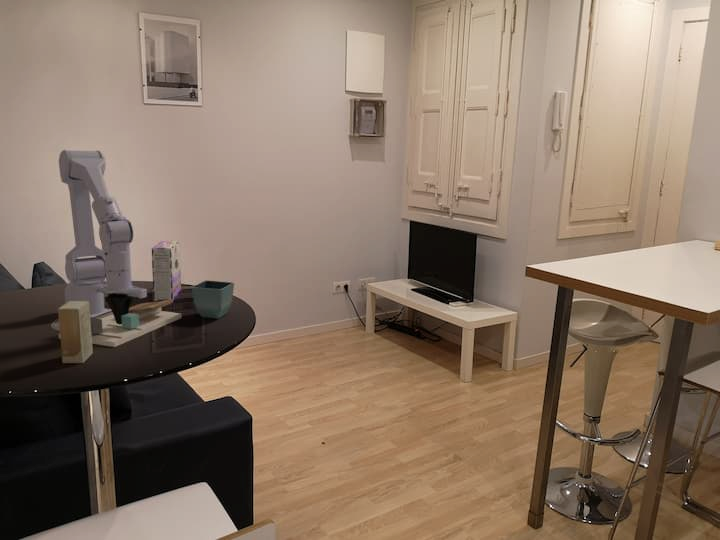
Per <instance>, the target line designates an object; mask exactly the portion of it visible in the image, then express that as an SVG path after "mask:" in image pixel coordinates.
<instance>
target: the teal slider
mask: <svg viewBox="0 0 720 540" xmlns="http://www.w3.org/2000/svg"><path fill="white" fill-rule="evenodd" d="M121 317H122V328H128V329H133V328H135V327H138V326H139V314H132V313H128V314H125V315H123V316H121Z"/></svg>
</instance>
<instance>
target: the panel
mask: <svg viewBox="0 0 720 540" xmlns="http://www.w3.org/2000/svg"><path fill="white" fill-rule="evenodd" d="M162 308H163V307H160V308H158V309H155V310H153V311H146V312H138V313H132V314H139V326H138V327H135V328H133V329H128V328H122V324H117V323H116V320H115V317H114V315H113V314H110V315H107V316H104V317H102V318H100V319H102V330H103V331H102V332H100V333H97V334H95V335H92V334H91V336H92V345H99V346H106V347H112V348H115V347H118V346H120V345H123V344H126V342H127V343H128V342H130V341H132V340H134V339H136V338H139V337H141V336H143V335H145V334H148V333H150V332H152V331H154V330H157V329H160V328H161V327H164V326H166V325H168V324H171V323H173V322H175V321H178V320H180V319H182V313H181V312H180V313H178V312H173V311H172V312H170V311H163V310H162ZM58 339H59V340H61V338H60V333H58Z"/></svg>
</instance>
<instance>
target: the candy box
mask: <svg viewBox="0 0 720 540" xmlns="http://www.w3.org/2000/svg"><path fill="white" fill-rule="evenodd" d="M180 253H181V251H180V241H179V240H160V241H159V242H158V243H157V244H156V245H154V246H153V247H152V248H151V265H152V266H151V267H152V269H151V270H152V291H153V302H158V301H165V300H173V301H174V300H175V298H176V297H177V296H178V295H179V293H180V292H181V291H182V277H181V276H182V275H181V274H182V273H181V254H180Z"/></svg>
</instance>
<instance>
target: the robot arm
mask: <svg viewBox="0 0 720 540" xmlns="http://www.w3.org/2000/svg"><path fill="white" fill-rule="evenodd" d="M58 167H59V176H60V180H61V182H62V183H64V184H65V185H67V186H68V191H69V200H70V201H69V202H70V209H71V216H72V224H73V227H72V228H73V232H74V244H75V246H74V247H73V248H72V249H70V251H68V252H67V253H66V254H65V264H64V265H65V266H64V271H65V277H66V278H67V280H68V281H69V282H68V283H67V284H66V286H65V288H64V300H65V301H64V304H66V303H67V302H69V301H89V309H90V319H91V318H96V317H99V316H101V315H104V314H108V313H110V312H112V315H114V317H115V320H116V323H117V324H122V317H121V316H123V315H125V314H128V311H129V308H130V307H131V305H132V304H133V301H134V299H135V298H138V299H143V298H147V297H148V293H147V292H148V290H147V288H143V287H138V286H135V285H133V283H132V269H131V268H132V267H131V266H132V265H131V248H130V244H131V243H132V242H133V240H134V228H133V225H132V222H131V220H129V219H127V217H126V216H123V214H122V211H121V209H120V207H119V204H118V202H117V200H116V198H115V197H114V196H113V195H112V196H111V195H109V191H108V188H107V185H106V182H105V181H106V180H105V178H104V176H105V171H106V159H105V155H104V154H103V153H102V151H101V150H68V149H62V150H61V152H60V153H59V157H58ZM91 197H92V198H93V201H92V203H91ZM92 211H93V213H94V215H95V218H96V220H97V223H98V225H99V228H98V229H99V230H98V234H99V235H98V236H99V240H100V244H101V248H100V247H98V246H96V238H95V232H94V231H95V230H94V229H95V228H94V221H93V213H92ZM104 282H105V283H104ZM104 294H108V295H107V296H105V295H104ZM105 302H106V303H107V305H108V306H109V308H105Z"/></svg>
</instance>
